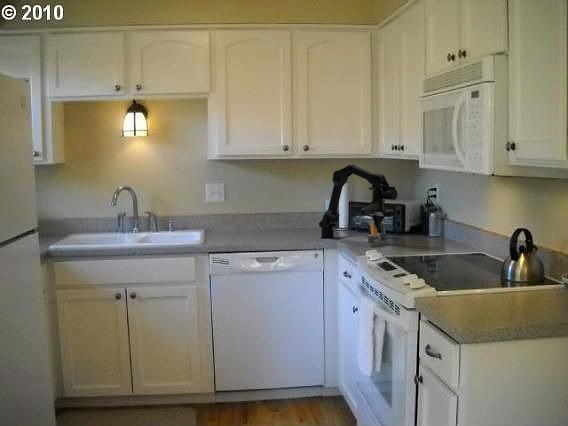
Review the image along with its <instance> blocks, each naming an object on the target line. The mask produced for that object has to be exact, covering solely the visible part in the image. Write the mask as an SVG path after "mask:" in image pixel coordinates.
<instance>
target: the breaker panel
mask: <svg viewBox="0 0 568 426" xmlns="http://www.w3.org/2000/svg"><path fill="white" fill-rule="evenodd" d="M377 236H378V239H377V240H374V236H373V235H369V234H368V236H364V235H355V236H349V237H344V238H340V244H346V245H347V244H348V245H354V246H360V247H365V248H366V247H368V248H372V247H379V246H381V245H386V244H388V243H389V242H388V239H387V233H386V232H385V233H381V234H379V233H377Z"/></svg>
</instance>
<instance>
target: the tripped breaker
mask: <svg viewBox="0 0 568 426" xmlns="http://www.w3.org/2000/svg"><path fill="white" fill-rule="evenodd" d="M370 225H371V235H373V236H374V240H377V239H378V236H377V228H376V226H375V223H370Z"/></svg>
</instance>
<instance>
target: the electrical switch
mask: <svg viewBox="0 0 568 426" xmlns="http://www.w3.org/2000/svg"><path fill="white" fill-rule="evenodd" d="M370 223H374V220H373V221H372V220H369V221H368V224H367V228H368V235H371V225H370ZM385 227H386V226H385V222H384V221H382V222H381V225H380V227H379V228H378V229H377V233H379V234H381V233H386V229H385Z"/></svg>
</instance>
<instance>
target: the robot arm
mask: <svg viewBox="0 0 568 426" xmlns="http://www.w3.org/2000/svg"><path fill="white" fill-rule="evenodd" d="M352 175H355V176H358V177H359V178H361V179H364V180H366V181H367V182H368V183H369V184H370V185H371V186H370V187H369V188H368V190H370V191H372V196H371V197H372V198H371V199H372V200H370V203H369V204H368V205H366V206H365V207H362V208H361V209H360V214H361V215H368V214H369V217H371V219H372V220H373V221H374V223H375V226H376V228H377V229H378V228H379V227H380V225H381V222H383V221H384V219H385V217H388V218H389V217H390V218H391V217H395V216H396V215H397V214H396V211H395V210H394V209H386V208H384V203H386V200H387V201H388V200H389V201H395V200H396V199H398V191H397V189H396V186H390V184H389V183H388V181H387V178H386V176H385V175H384V174H380V173H376V172H370V171H368V170H366V169H363V168H362V167H359V166H357V165H355V164H349V165H347V166H345V167H343V168H340V169H339V170H335V171H334V172H333V174H332V184H333V187H332V192H331V197H330V199H329V204H328V208H327V209H326V211H325V212H324V215H322V216H323V217H322V219H321V220H320V222H319V223H318V225H319V228H321V237H320V238H321V239H333V238H334V237H335V229H334V227H336V225H337V223H338V222H339V219H340V213H338V208H339V203H340V199H341V196H342V191H343V187H344V186H345V185H346V183H347V181H348V179H349V177H351V176H352Z"/></svg>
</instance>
